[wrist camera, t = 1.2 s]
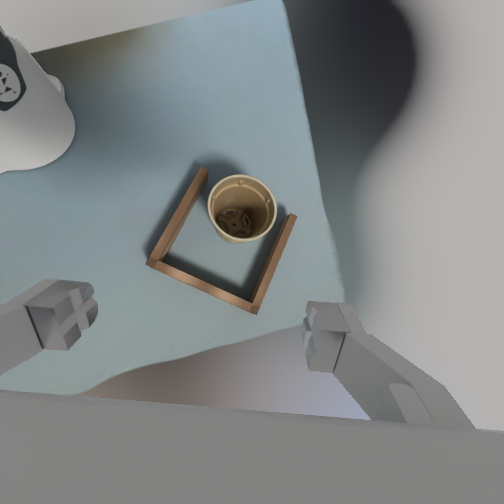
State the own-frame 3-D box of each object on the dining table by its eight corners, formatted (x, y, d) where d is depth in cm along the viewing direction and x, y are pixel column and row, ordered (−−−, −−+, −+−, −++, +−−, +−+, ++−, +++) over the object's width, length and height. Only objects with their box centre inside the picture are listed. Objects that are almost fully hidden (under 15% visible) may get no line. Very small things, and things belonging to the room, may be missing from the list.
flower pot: (234, 188, 42) (243, 161, 34) (272, 227, 42) (290, 210, 34) (193, 222, 39) (192, 202, 31) (233, 264, 39) (242, 255, 31)
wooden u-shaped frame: (150, 267, 37) (145, 264, 33) (200, 177, 41) (201, 166, 37) (251, 313, 39) (256, 314, 35) (289, 222, 43) (297, 216, 39)
